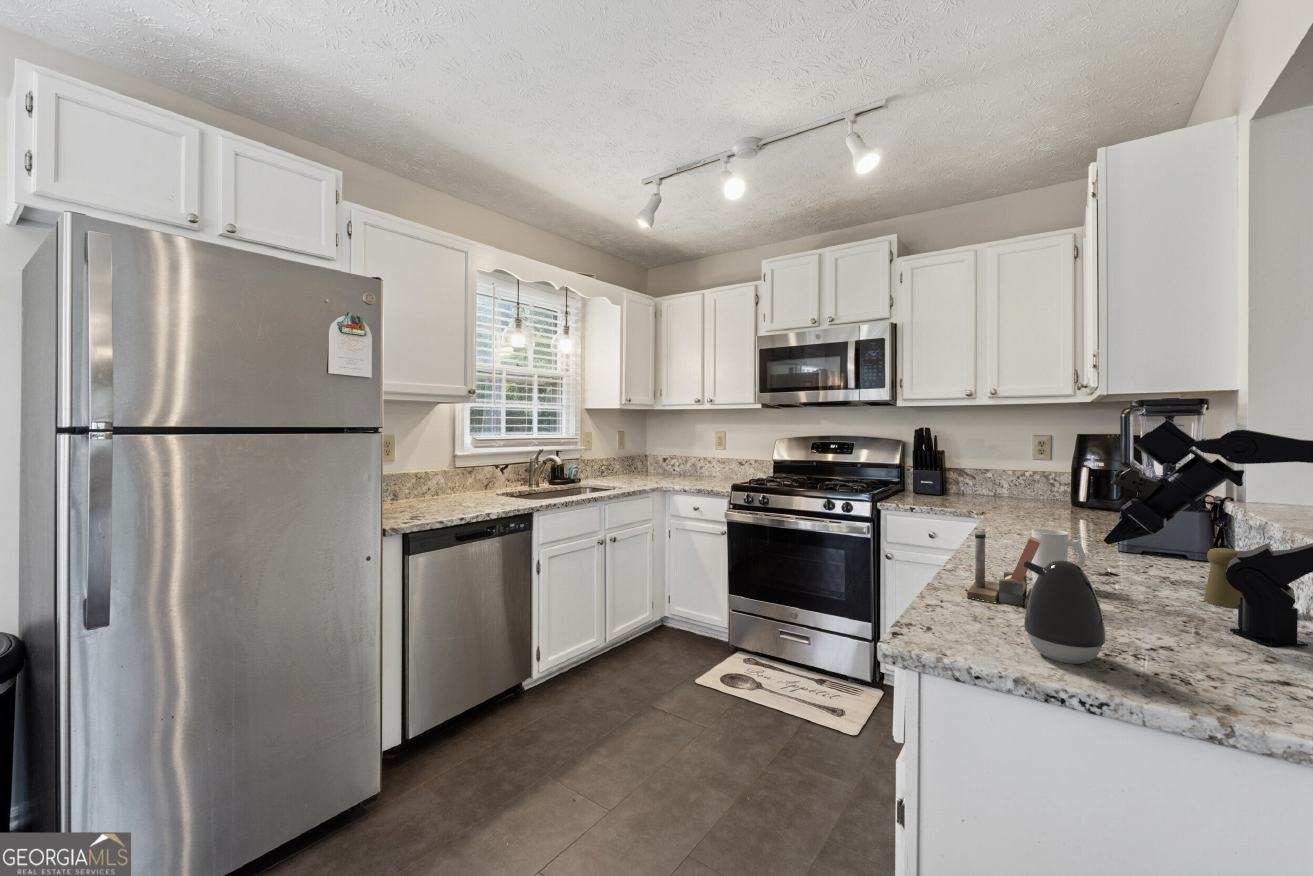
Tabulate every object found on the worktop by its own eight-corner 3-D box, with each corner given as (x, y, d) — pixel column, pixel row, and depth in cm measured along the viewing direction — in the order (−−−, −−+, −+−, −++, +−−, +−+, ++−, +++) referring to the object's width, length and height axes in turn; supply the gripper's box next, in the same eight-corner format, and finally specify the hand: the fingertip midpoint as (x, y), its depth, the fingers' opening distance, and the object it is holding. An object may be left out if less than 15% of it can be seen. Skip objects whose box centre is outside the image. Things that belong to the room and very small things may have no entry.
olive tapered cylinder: (1227, 599, 113) (1228, 545, 113) (1256, 609, 107) (1257, 552, 107) (1195, 598, 114) (1195, 545, 114) (1222, 608, 108) (1222, 552, 108)
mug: (1025, 583, 126) (1026, 530, 126) (1039, 578, 130) (1039, 527, 129) (1078, 594, 118) (1078, 538, 117) (1090, 588, 121) (1091, 534, 121)
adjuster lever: (1021, 597, 116) (1047, 542, 113) (1018, 602, 113) (1045, 546, 110) (1000, 588, 118) (1025, 533, 115) (997, 592, 115) (1023, 536, 112)
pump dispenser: (1026, 639, 94) (1026, 550, 93) (1105, 654, 87) (1106, 559, 87) (1018, 659, 86) (1019, 562, 86) (1104, 677, 79) (1105, 572, 79)
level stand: (1059, 599, 115) (1059, 534, 114) (1055, 613, 106) (1056, 543, 106) (976, 586, 124) (976, 526, 124) (967, 598, 115) (967, 534, 115)
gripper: (1150, 450, 110) (1083, 502, 118) (1136, 455, 97) (1061, 512, 105) (1207, 492, 104) (1132, 544, 112) (1200, 503, 91) (1116, 560, 100)
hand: (1110, 538), depth 107 cm, fingers open, 9 cm apart
